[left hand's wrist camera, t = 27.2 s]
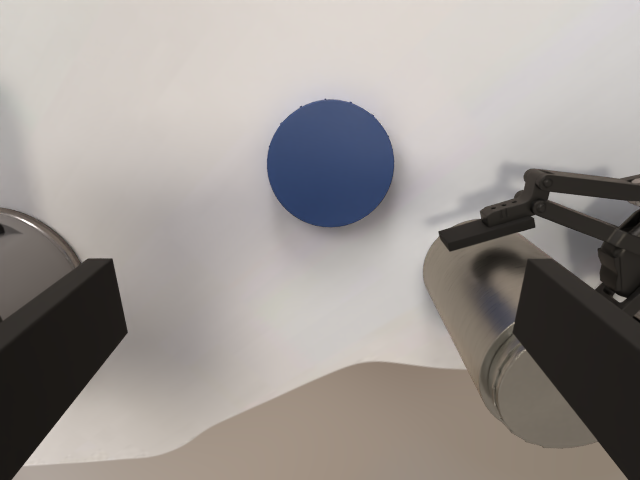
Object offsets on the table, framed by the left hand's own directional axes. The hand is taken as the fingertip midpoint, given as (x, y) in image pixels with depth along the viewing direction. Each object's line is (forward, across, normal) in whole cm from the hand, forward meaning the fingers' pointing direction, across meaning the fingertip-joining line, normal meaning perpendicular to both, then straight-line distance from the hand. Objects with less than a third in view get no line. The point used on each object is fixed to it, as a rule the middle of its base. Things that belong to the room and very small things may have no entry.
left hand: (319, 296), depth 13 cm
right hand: (+18, +12, -11) cm, 25 cm away
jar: (+24, +15, -10) cm, 30 cm away
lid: (+23, +1, 0) cm, 23 cm away
